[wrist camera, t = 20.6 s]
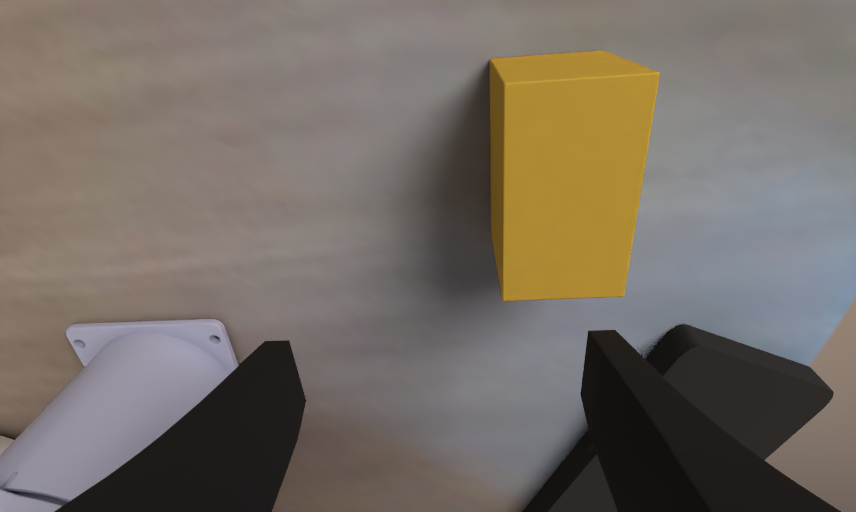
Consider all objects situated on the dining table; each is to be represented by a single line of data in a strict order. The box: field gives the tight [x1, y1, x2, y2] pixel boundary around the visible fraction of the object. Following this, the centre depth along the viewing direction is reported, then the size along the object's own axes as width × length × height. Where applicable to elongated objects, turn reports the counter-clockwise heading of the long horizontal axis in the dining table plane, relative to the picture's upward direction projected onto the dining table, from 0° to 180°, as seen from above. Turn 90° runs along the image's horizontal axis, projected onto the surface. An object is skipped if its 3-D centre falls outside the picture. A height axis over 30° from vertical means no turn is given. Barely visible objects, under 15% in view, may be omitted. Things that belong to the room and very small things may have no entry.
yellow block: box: [490, 50, 660, 301], centre depth 16 cm, size 7×4×5 cm, turn 4°
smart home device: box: [524, 324, 833, 512], centre depth 26 cm, size 8×2×20 cm
